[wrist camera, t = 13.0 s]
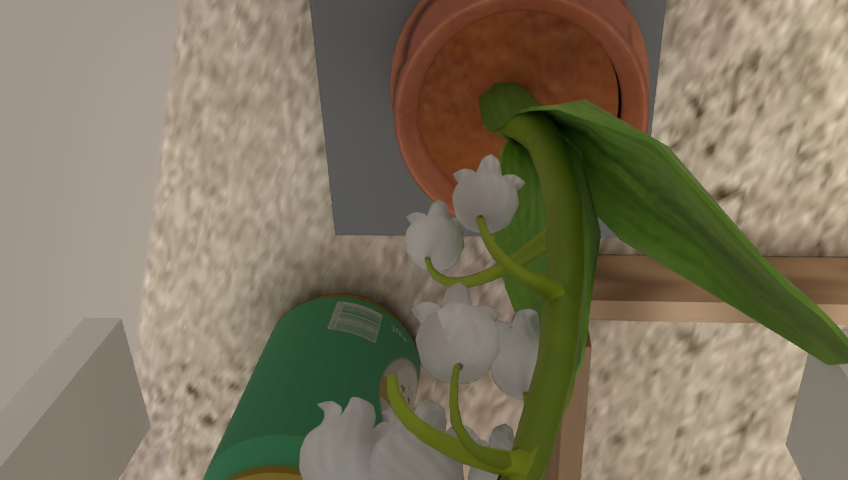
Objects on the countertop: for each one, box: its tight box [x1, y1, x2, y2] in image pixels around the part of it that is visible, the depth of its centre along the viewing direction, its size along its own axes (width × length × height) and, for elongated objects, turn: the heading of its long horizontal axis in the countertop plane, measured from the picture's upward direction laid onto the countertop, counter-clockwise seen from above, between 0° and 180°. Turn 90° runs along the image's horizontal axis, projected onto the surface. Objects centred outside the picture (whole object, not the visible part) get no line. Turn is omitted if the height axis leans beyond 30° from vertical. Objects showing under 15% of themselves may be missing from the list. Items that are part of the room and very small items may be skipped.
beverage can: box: [204, 294, 420, 480], centre depth 34 cm, size 8×8×12 cm
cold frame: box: [546, 255, 848, 480], centre depth 34 cm, size 18×18×9 cm
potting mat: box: [310, 0, 666, 237], centre depth 31 cm, size 14×14×1 cm
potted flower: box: [299, 0, 848, 480], centre depth 19 cm, size 12×10×25 cm
